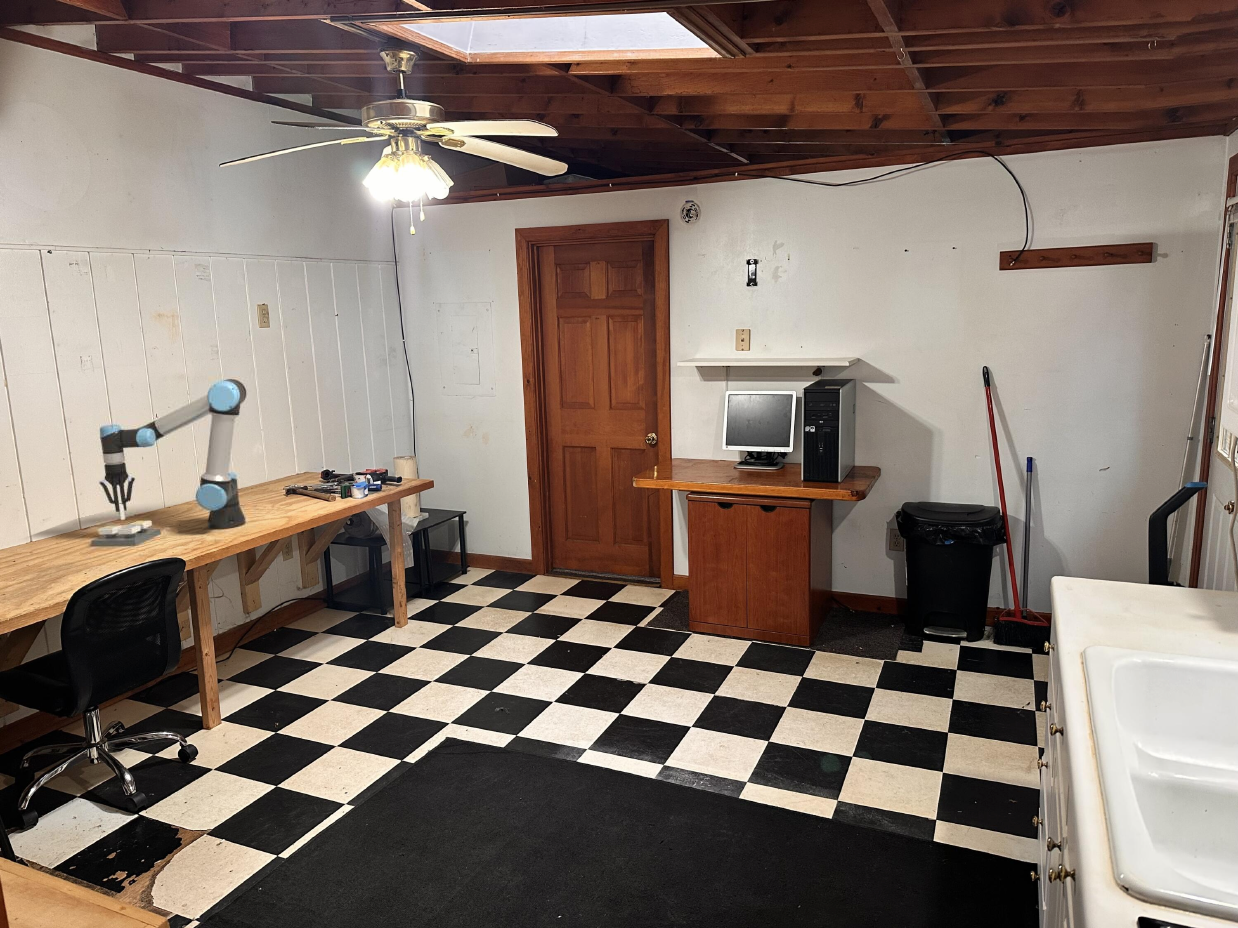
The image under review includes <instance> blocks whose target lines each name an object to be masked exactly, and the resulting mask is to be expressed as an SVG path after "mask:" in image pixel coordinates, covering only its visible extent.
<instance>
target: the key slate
mask: <svg viewBox="0 0 1238 928" xmlns="http://www.w3.org/2000/svg"><path fill="white" fill-rule="evenodd" d="M140 530H141V529H140V526H124V527H122V528H120V529H118V534H125V538H132V537H134V536H135V534H134V533H136V532H138V531H140Z"/></svg>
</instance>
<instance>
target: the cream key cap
mask: <svg viewBox="0 0 1238 928" xmlns="http://www.w3.org/2000/svg"><path fill="white" fill-rule="evenodd" d="M129 525H130V526H140V529H141V530H140V531H138V532H137V533H143V532H145V531H146V529H148V528H149V527H151V526H153V523H152V520H136V521H135V522H132V523H129Z"/></svg>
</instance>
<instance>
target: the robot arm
mask: <svg viewBox="0 0 1238 928" xmlns="http://www.w3.org/2000/svg"><path fill="white" fill-rule="evenodd" d="M246 398H247V388H246V387H245V385H244V383H242V382H241V381H239V380H238V379H232V378H228V379H225V380H220V381H218V382H215V383H214V384H213V385H211V387H210V388H209V389H208V391H207V394H206V395H204V396H202V397H200V398H198V399H196V400H194V401H192V402H190V403H188V404H186V405H183V406H182V407H180V408H177V409H176V410H174V411H171V412H169V413H167V414H166V415H163V416H161V417H159V418H157V419H155V420H154V421H151V422H149V423H147V424H145V425H142V426H140V427H137V428H133V429H132V428H131V429H130V428H129V429H122V428H121V425H120V424H108V425H106V424H105V425H102V426H101V427H100V428H99V439H100V444H101V450H102V459H103V464H104V465H103V466H104V472H105V475H104V478H103V479H102V480H100V481H98V484H99V485H100V486H101V487H102V488H103V491H104V494H105V495H106V498H107V501H108V503H110V504H112V505H114V509H115V512H117V513H118V515H119V516H118V517H119V520H122V521H123V520H126V515H125V512H126V511H127V510H128V509H127V503H128V502H130V501H131V500H132V492H133V486H134V485H133V484H134V482H135V480H136V478H135V477H132V476H130V475H129V473H128V471H127V466H126V462H125V461H126V458H125V451H124V449H129V448H148V447H149V448H150V447H153V446H154V445H155V443H156V442H157V441H159V440H160V439H161V438H164V437H165V436H168V435H170V434H171V433H174V432H176V431H178V430H180V429H182V428H184V427H186V426H188V425H190V424H192V423H194V422H196V421H198V420H201V419H202V418H205V417H206V416H208V415H211V425H210V433H209V438H208V448H207V457H206V463H205V465H206V466H205V472H203V474H201V475H200V482H199V487H197V490H196V493H195V500H196V502H197V504H198V505H199V506H200V507H201V508H202V509H204V510H206V511H209V515H208V519H207V527H208V528H209V529H214V530H222V529H223V530H225V529H231V528H237V527H240V526H244V525H245V524H246V523H247V521H246V516H245V514H244V512H243V510H242V508H241V506H240V496H239V487H238V478H237V474H236V473H235V472H229V467H230V460H231V453H232V452H231V450H232V444H233V435H234V427H235V419H237V417H239V416H240V411H241V405H242V404H243V403H244V402H245V400H246ZM126 481H128V482H127V488H126V492H125V484H126ZM108 484H109V485H111V489H112V494H111V492H110V490H109V488H108V486H107V485H108ZM118 487H119V494H120V501H119V495H118ZM112 495H113V497H112Z"/></svg>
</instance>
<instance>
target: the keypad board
mask: <svg viewBox="0 0 1238 928" xmlns="http://www.w3.org/2000/svg"><path fill="white" fill-rule="evenodd" d="M134 534H135V536H134V537H132V538H125V534H118V533H115V535H116V536H115V537H113V538H106V534H102V535H101V536H100V537H99V536H98V537H96V538H94V539H92V540H91V542H90V543H91V547H137V546H138V545H140V544H143V543H145V542H147V541H149V540H151V539H154V538H155V537H158V536H160V535H161V534H162V532H161V528H146V531H145V532H143V533H137V532H136V533H134Z"/></svg>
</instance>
